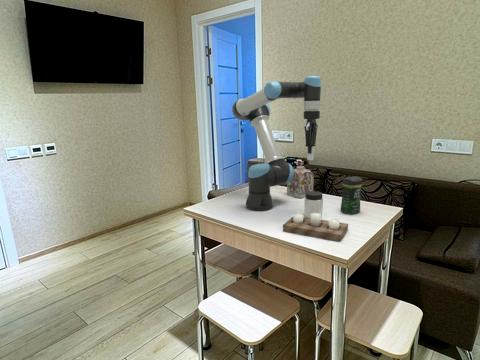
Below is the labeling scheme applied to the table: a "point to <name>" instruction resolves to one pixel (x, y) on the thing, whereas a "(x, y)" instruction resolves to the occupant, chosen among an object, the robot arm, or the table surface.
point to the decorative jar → (300, 182)
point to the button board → (316, 229)
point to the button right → (334, 224)
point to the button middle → (315, 219)
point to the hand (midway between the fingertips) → (310, 159)
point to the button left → (298, 218)
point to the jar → (313, 203)
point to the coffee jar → (351, 195)
